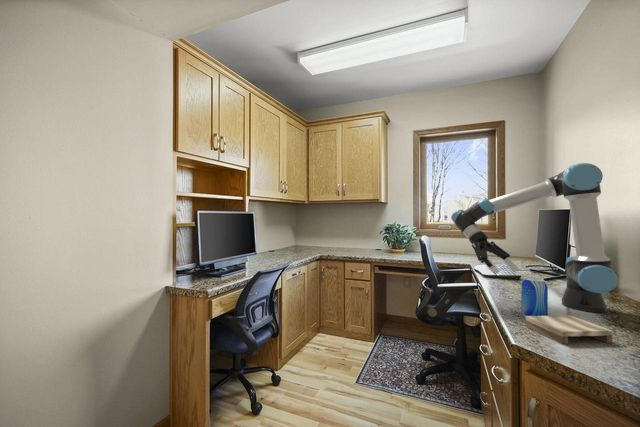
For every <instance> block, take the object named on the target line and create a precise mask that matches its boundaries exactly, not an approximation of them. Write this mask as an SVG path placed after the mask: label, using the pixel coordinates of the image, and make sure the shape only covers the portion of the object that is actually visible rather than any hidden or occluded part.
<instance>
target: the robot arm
mask: <svg viewBox="0 0 640 427" xmlns="http://www.w3.org/2000/svg"><path fill="white" fill-rule="evenodd" d="M603 178H604V176H603V172H602V170H601V169H600V167H598V166H597V165H595V164H592V163H588V162H581V163H577V164H572V165H570V166H569V167H567V168H566V169H565V170H564V171H562V172H560V173H558V174H556V175H554V176H552V177H548V178H546V179H545V181H543V182H539V183H537V184H533V185H531V186H528V187H525V188H521V189H519V190H516V191H513V192H510V193H507V194H503V195H500V196H496V197H494V198H492V199H488V198H487V197H482V198H480V199H479V200H477V201H476V202H475V203H473V205H471V206H470V207H468V208H467V209H466V210H463V209H457V210H456V211H454V212H453V213H452V214H451V217H450V218H451V220H452V222H453V223H454V225H455V226H456V227H457V228H458V229H459V230H460V232H462V234H463V235H464V236H465V238H467V240H468V241H469V243H470V244H471V247H472V248H473V250H474V253H475V255H476V258H477V260H478V261H479V262H480V263H482V264H483V263H484V264H485V265H486V266H487V267H488V269H490V271H491V272H492V273H493V275H498V273H500V272H501V270H500V269H499V267H497V265H496V264H495V263H494V261H493V260H491V259H490V258H489V257H488V253H490V254H491V253H492V254H493V255H495V256H497V257H499V258H500V259H502V260H503V262H504V263H505V265H507V267H508V268H509V269H510V270H511V272H513V273H515V272H517V271H518V270H520V268H519V267H518V266H517V265H516V264H515V262H513V261H512V259H511V258H510V257H511V255H510V254H509V253H508V252H507V251H505V250H504V249H503V248H501V247H500V246H499V245H497V244H496V243H495V242H494V241H490V242H489V240H488V236H487V235H486V233H485V232H484V231H483V230H482V229H481V228H480V227H479V226H478V225H477V224H476V222H478V221H479V220H481V219H482V218H484V217H486V216H489V215H493V214H496V213H499V212H503V211H506V210H509V209H512V208H516V207H519V206H523V205H525V204H529V203H533V202H536V201H539V200H543V199H546V198H549V197H550V198H551V197H554V198H556V197H559V196H563V198H564V199H566V200H567V201H568V203H569V211H570V218H571V226H572V234H573V240H574V246H575V247H574V248H575V256H569V257H567V258H566V262H565V265H566V266H565V267H566V289H565V291H564V292H563V293H564V294H563V297H562V298H561V305H563V306H565V307H567V308H570V309H573V310H576V311H577V310H578V311H583V312H591V313H597V314H598V313H601V314H602V313H608V305H607V304H606V302H605V298H604V296H603V294H606V293H610V292H611V291H613V290H614V289H615V288H616V287H617V286H618V284H619V279H618V276H617V274H616V272H615V271H614V270H613V266H612V259H611V258H610V257H608V256H607V255H606V253H605V248H604V247H605V246H604V241H603V234H602V233H603V232H602V227H601V219H600V213H599V207H598V206H599V205H598V201H597V200H598V197H599V196H600V195H601V194H602V191H601V183H602V181H603Z"/></svg>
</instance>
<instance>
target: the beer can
mask: <svg viewBox="0 0 640 427" xmlns="http://www.w3.org/2000/svg"><path fill="white" fill-rule="evenodd" d="M520 286H521V288H520V290H521V291H520V292H521V298H520V300H521V305H520V306H521V309H520V310H521V315H522V316H523V318H525V319H526V316H549V315H548V314H549V312H548V309H549V304H548V302H549V301H548V300H549V299H548V298H549V297H548V294H549V292H548V291H549V290H548V288H549V287H548V285H547V283H546V280H545V279H543V278H538V277H524V278H523V281H522V282H521V285H520Z"/></svg>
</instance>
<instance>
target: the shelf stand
mask: <svg viewBox="0 0 640 427" xmlns="http://www.w3.org/2000/svg"><path fill="white" fill-rule="evenodd" d="M525 328H527V329H529V330H531V331H534V332H536V333H537V334H540V335H542V336H544V337H546V338H548V339H551V340H552V341H554V342H556V343H559V344H561V345H569V337H591V338H594V339H596V340H599V341H601V342H603V343H606V344H613V330H611V329H608V328H606V327H603V326H600V325H597V324H595V323H592V322H589V321H587V320H584V319H581V318H578V317H576V316H573V315H564V314H563V315H548V316H526V318H525Z"/></svg>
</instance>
